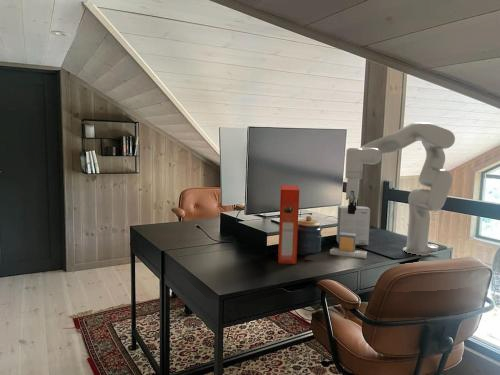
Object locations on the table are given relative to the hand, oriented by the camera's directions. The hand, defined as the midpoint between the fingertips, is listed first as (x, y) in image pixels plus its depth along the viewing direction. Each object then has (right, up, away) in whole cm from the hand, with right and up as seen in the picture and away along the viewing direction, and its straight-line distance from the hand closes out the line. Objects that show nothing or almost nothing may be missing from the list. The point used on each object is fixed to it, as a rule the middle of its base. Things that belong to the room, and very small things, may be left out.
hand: (352, 212), depth 181 cm
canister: (-20, -20, +6) cm, 29 cm away
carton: (-2, -19, +2) cm, 19 cm away
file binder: (-31, -21, -4) cm, 37 cm away
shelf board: (-1, -21, +2) cm, 21 cm away
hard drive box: (+6, -19, +22) cm, 30 cm away
